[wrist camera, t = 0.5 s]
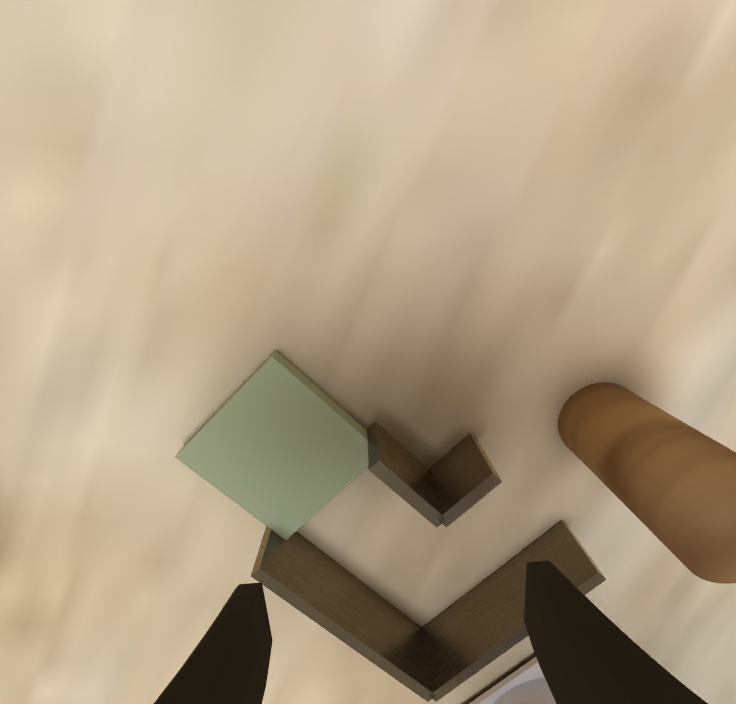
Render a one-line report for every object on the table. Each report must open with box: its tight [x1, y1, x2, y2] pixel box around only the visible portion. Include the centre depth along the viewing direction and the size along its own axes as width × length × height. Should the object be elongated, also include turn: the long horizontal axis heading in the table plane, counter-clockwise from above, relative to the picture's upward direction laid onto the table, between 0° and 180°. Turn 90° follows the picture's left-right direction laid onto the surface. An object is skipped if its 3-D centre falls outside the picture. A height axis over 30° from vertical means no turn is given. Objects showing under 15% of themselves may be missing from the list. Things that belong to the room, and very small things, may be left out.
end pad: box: [175, 350, 369, 540], centre depth 20 cm, size 7×7×1 cm
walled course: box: [251, 422, 606, 702], centre depth 20 cm, size 12×11×4 cm
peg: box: [558, 383, 736, 583], centre depth 16 cm, size 4×4×8 cm
